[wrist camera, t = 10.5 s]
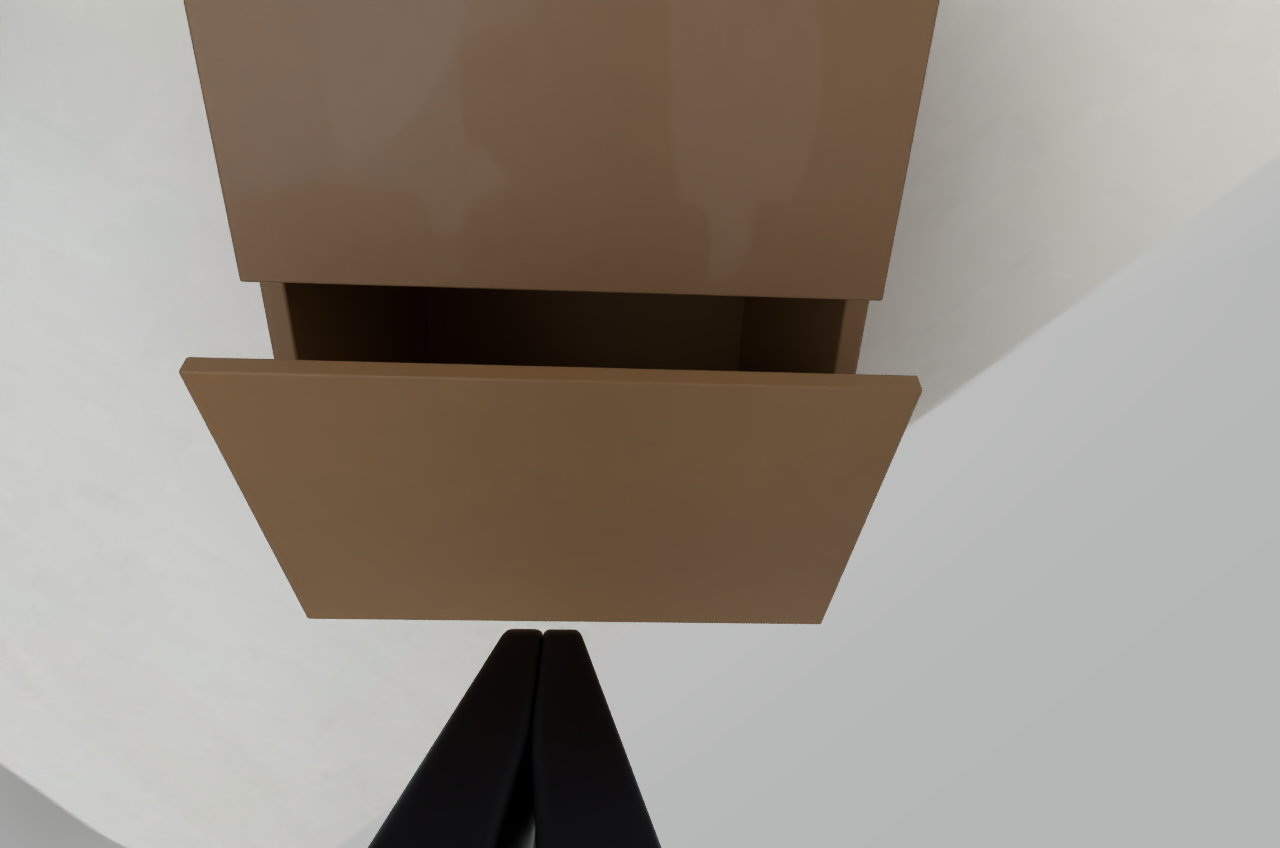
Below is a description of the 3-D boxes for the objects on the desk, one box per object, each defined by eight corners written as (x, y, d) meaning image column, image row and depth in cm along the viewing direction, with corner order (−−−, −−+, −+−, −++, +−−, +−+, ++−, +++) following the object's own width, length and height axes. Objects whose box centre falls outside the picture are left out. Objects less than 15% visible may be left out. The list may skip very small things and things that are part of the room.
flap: (818, 611, 15) (821, 624, 15) (311, 605, 14) (307, 619, 14) (918, 374, 10) (923, 390, 10) (186, 356, 10) (176, 371, 10)
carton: (744, 400, 24) (823, 624, 15) (424, 392, 23) (305, 619, 14) (800, -94, 18) (986, -222, 9) (375, -117, 17) (122, -275, 8)
